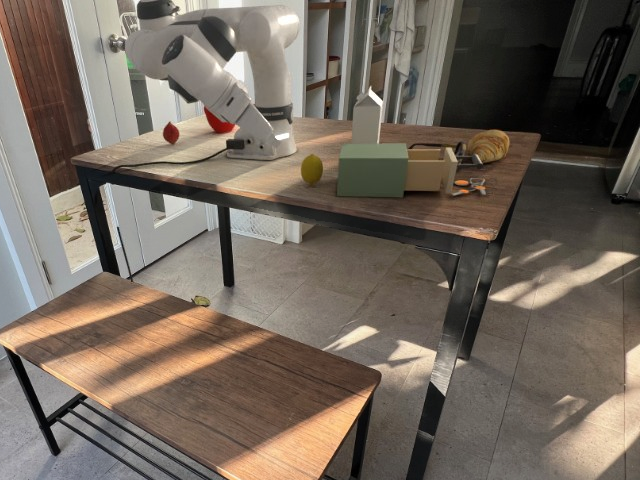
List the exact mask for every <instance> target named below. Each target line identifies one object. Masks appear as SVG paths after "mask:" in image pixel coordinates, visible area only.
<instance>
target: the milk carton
mask: <svg viewBox="0 0 640 480" xmlns="http://www.w3.org/2000/svg"><path fill="white" fill-rule="evenodd" d="M356 100H357V101H356V102H355V104H354V105H353V111H352V127H351V141H350V142H351V143H350V144H372V143H380V137H381V136H380V133H381V126H382V125H381V124H382V117H383V116H382V114H383V106H384V100H382V99H381V98H380V97H379V96H378V94H376V93H375V92H374V91H373V90H372V85H370V86H369V88H368V90H367V92H366V93H364V92H361V93H359V94H358V95H357V96H356Z"/></svg>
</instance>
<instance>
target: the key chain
mask: <svg viewBox="0 0 640 480" xmlns="http://www.w3.org/2000/svg"><path fill="white" fill-rule="evenodd" d="M472 180H477V181H481V182H475V183H474V182H472ZM485 181H486V179H484V178H477V177H476V178H475V177H471V178H469V181H468V180H462V179H459V180H454V184H455V186H456V185H457V186H461V187H465V186H466V187H467V186H469V185H470V187H471V188H472V189H459V190H458V191H457V192H454V193H451V196H453V197H455V196H458V195H461V194H469V192H473V191H476V190H478V191H479V192H480V194H481V195H482V196H486V195H487V193H486V186H483V185H484V183H485Z"/></svg>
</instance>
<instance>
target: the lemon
mask: <svg viewBox="0 0 640 480" xmlns="http://www.w3.org/2000/svg"><path fill="white" fill-rule="evenodd" d="M323 174H324V166H323V161H322V160H321V158H320V157H319V156H317V155H315V154H314V153H311V154H310V155H307V156H306V157H305V158H304V159H303V160H302V162H301V166H300V175H301V178H302V180H303V181H304V182H305V183H307V184H309V185H310V186H313V185H314V184H316V183H319V181H320V180H321V179H322V176H323Z"/></svg>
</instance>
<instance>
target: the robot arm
mask: <svg viewBox="0 0 640 480" xmlns="http://www.w3.org/2000/svg"><path fill="white" fill-rule="evenodd" d="M175 4H176V3H174V2H173V0H139V1H138V3H137V4H136V18H137V19H138V23H139V30H134V31H133V32H131V33H129V35H128V36H127V38H126V41H125V43H124V51H125V55H126V57H127V59H128V62H129V63H130V64H131V66H132V67H133V68H134V69H135V70H136V71H137V72H139V73H140V74H141V75H143V76H145V77H147V78H150V79H151V80H159V81H165V82H168V88H169V89H170V90H171V91H174V92H175V93H176V94H177V95H179V96H180V97H181V98H182V99H183V101H184V102H186V104H188V105H190V104H193V103H194V104H195V103H198V102H199V101H200V102H201V103H202V105H203V107H204V106H205V107H206V108H207V109H208V110H209V111H210V112H211V113H212V114H214V115H215V116H216V117H217V118H218V119H219V120H220V121H222V122H229V123H231V124H236V125H235V126H238V127H239V128H238V129H237V130H236V131H235V132H234V135H233V138H228V139H226V140H225V148H223V149H221V150H219V151H217V152H215V153H214V154H212V155H210V156H206V157H204V158H200V159H196V160H191V161H190V160H189V161H166V160H164V161H163V160H162V161H160V160H159V161H151V162H150V161H149V162H148V161H147V162H143V163H136V164H135V163H134V164H120V165H117V166H115V167H114V168H113V169H112V170H111V171H110V173H111V174H113V173H115V172H116V171H117V170H118V169H121V168H138V167H144V166H151V165H162V164H163V165H164V164H165V165H175V166H176V165H177V166H179V165H180V166H181V165H190V164H197V163H202V162H205V161H209V160H210V159H213V158H215V157H217V156H219V155H220V154H222V153H224V152H226V157H227V158H230V159H246V160H259V161H260V160H261V161H272V160H276V159H279V158H283V157H286V156H291V155H293V154H295V153H296V152H297V151H298V148H297V146H296V141H295V136H294V128H293V121H294V103H293V102H292V73H291V72H290V69H289V67H288V63H287V58H286V54H285V49H287V48H289V47H290V46H291V45H292V44H293V43H294V41H295V40H297V38H298V36H299V33H300V29H301V23H300V18H299V16H298V14H297V13H296V12H295V10H293V9H292V8H290V7H288V6H286V5H283V4H275V5H272V4H271V5H255V6H254V5H253V6H238V7H237V6H236V7H217V8H214V7H213V8H201V9H195V10H191V11H188V12H185V13H183V14H179V13H178V12H180V11H181V8H180V6H178V5H175ZM245 52H246V54H247V57H248V61H249V65H250V68H251V73H252V80H253V93H254V103H252V98H251V97H250V96H249V93H248V88H247V87H246V86H245V85H243V84H242V83H241V82H240V81H239V80H238V79H237V78H236V77H235V76H234V75H233V74H232V73H231V72H229V71H227V70H225V67H226V65H227V64H228V63H229V62H230V61H231V59H232V58H233V57H234V56H235V54H236V53H245ZM116 229H117V230H116V231H117V234H118V235H117V236H118V239H119V242H120V246H121V250H122V253H123V257H124V260H125V263H126V267H127V272H128V275H129V280H130V283H131V282H133V283H134V280H133V274H132V271H131V268H130V267H131V266H130V263H129V259H128V256H127V252H126V249H125V245H124V241H123V238H122V234H121V230H120V226H116Z"/></svg>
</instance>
